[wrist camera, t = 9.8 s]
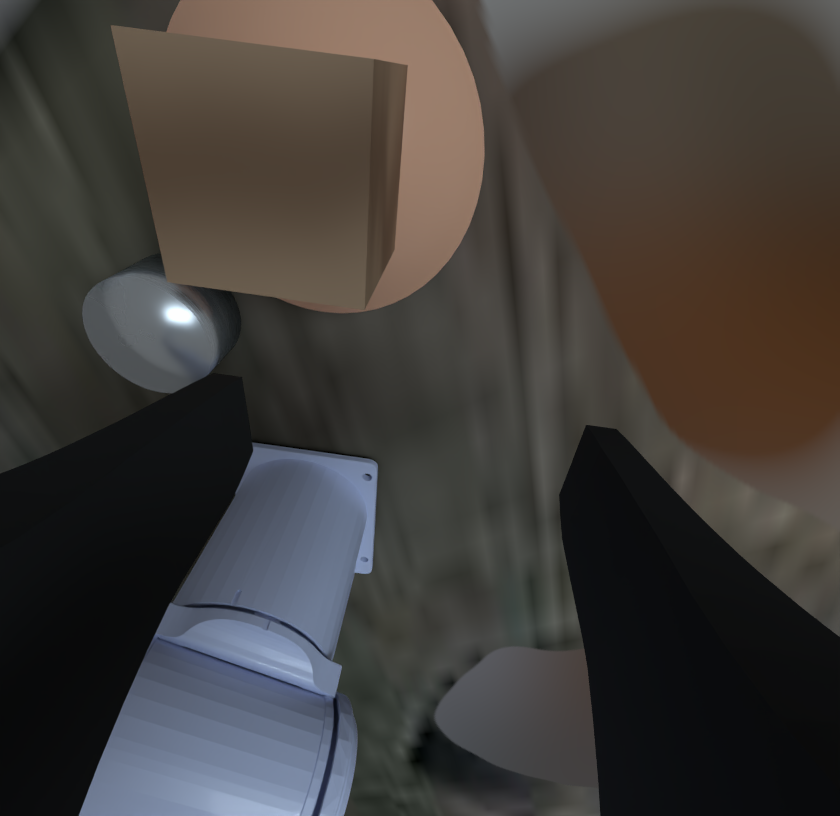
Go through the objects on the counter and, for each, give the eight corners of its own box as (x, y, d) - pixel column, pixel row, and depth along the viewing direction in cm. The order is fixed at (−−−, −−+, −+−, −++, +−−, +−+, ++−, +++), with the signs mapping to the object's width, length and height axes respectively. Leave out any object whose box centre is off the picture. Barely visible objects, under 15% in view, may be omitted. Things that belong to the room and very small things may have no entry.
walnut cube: (394, 249, 16) (364, 310, 12) (248, 229, 16) (167, 282, 12) (407, 65, 13) (374, 59, 9) (227, 42, 13) (110, 25, 9)
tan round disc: (461, 302, 19) (458, 329, 17) (221, 271, 19) (191, 294, 17) (511, -28, 13) (517, -48, 11) (168, -66, 14) (113, -91, 11)
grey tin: (248, 364, 22) (220, 400, 20) (146, 351, 22) (105, 384, 20) (233, 260, 19) (197, 286, 17) (115, 245, 19) (63, 269, 17)
